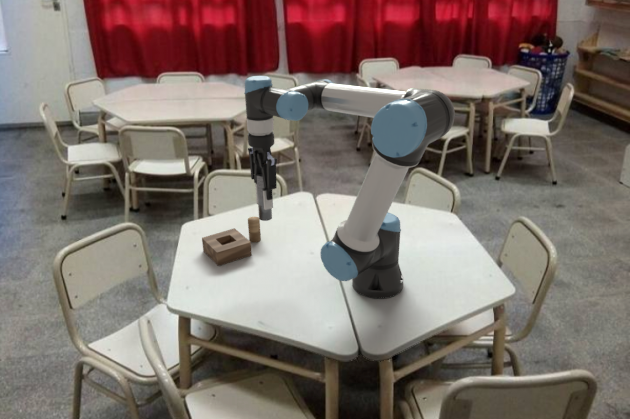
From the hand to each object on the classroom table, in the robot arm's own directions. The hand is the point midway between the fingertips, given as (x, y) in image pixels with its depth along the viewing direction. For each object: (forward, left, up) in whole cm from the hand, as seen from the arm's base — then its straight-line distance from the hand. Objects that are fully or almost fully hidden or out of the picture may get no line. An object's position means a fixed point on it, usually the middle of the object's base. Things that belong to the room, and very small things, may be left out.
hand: (264, 205), depth 167 cm
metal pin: (0, 0, -4) cm, 4 cm away
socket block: (+14, +8, -21) cm, 26 cm away
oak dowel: (+17, -4, -21) cm, 27 cm away
